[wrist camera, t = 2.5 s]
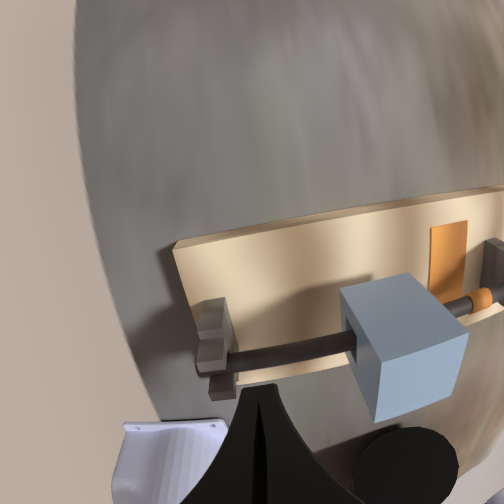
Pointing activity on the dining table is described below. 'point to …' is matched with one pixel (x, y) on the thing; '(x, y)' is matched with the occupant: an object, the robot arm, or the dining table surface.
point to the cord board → (332, 279)
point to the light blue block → (401, 344)
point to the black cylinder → (406, 468)
